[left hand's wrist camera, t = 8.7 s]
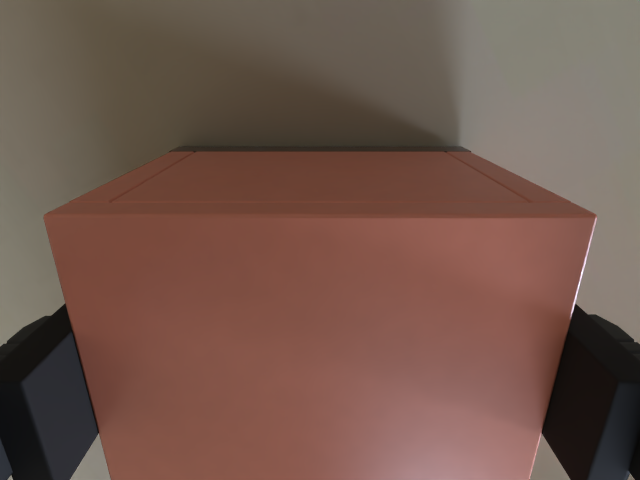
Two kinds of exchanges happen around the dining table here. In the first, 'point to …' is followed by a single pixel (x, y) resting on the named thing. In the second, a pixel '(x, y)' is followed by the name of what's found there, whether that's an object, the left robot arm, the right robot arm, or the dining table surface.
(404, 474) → the salmon pink box
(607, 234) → the dining table surface
